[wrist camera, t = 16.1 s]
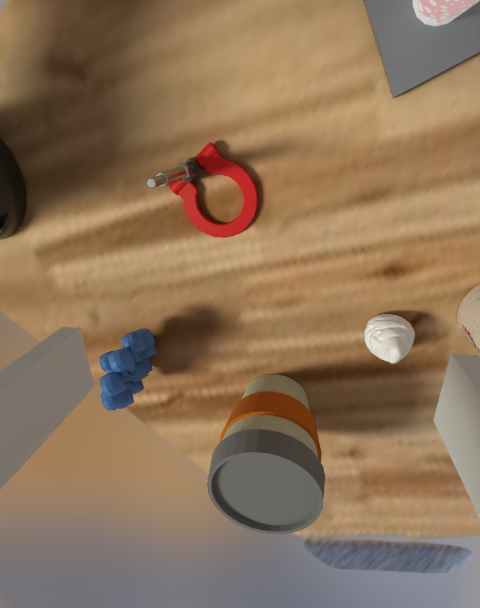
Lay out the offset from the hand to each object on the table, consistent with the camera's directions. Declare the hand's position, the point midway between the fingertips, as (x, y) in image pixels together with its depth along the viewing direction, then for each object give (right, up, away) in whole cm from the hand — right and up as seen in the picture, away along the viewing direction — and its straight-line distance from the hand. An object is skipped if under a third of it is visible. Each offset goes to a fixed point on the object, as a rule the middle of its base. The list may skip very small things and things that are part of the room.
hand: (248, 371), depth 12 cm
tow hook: (-3, +15, +26) cm, 30 cm away
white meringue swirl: (+18, -1, +29) cm, 34 cm away
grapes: (-14, -3, +36) cm, 39 cm away
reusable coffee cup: (+5, -11, +36) cm, 38 cm away
